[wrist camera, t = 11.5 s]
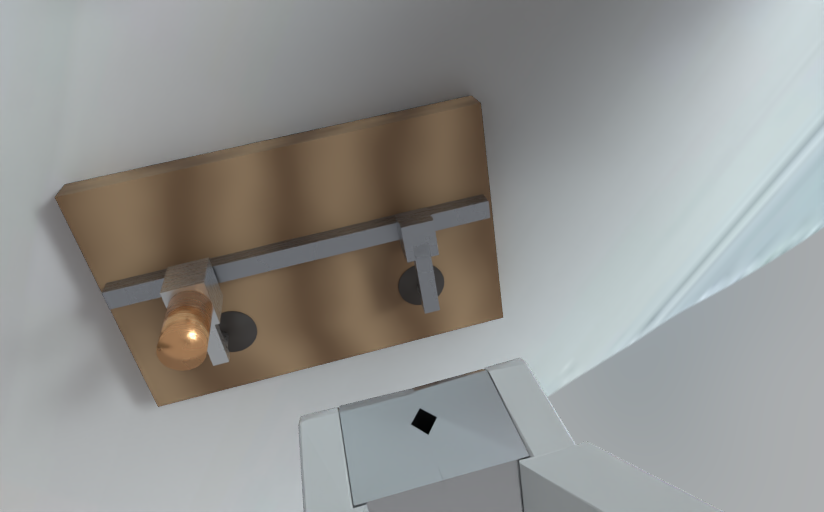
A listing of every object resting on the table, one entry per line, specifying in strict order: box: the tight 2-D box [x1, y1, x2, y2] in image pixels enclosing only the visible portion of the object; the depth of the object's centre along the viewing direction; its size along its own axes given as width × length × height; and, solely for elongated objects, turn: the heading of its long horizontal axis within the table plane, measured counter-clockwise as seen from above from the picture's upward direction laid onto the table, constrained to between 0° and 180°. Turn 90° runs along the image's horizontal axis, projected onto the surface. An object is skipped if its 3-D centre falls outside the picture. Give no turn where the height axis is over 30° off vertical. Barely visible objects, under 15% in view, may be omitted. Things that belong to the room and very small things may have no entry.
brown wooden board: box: [55, 96, 503, 407], centre depth 40 cm, size 25×16×2 cm, turn 99°
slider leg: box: [156, 257, 230, 371], centre depth 35 cm, size 2×7×8 cm, turn 9°
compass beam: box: [102, 194, 490, 314], centre depth 38 cm, size 24×6×3 cm, turn 99°
